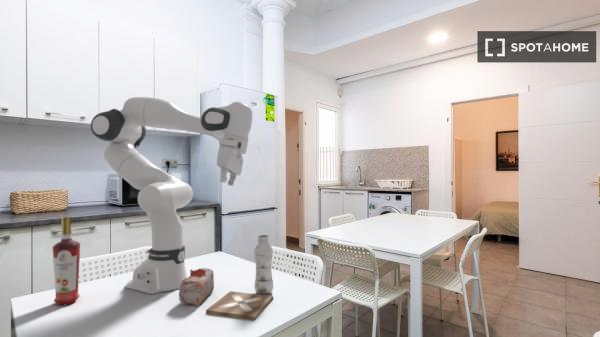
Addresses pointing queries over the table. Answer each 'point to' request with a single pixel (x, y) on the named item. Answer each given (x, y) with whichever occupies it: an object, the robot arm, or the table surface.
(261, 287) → the plastic bottle
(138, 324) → the table surface
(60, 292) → the liquor
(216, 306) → the brown board with cross
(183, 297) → the food item
